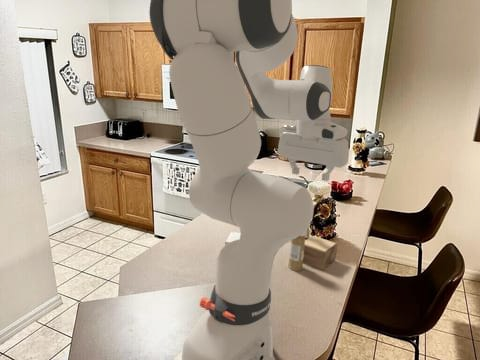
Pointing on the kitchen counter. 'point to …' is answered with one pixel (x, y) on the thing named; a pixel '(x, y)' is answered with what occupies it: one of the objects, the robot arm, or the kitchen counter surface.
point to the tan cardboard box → (319, 252)
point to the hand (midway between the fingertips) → (310, 176)
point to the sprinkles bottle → (297, 252)
